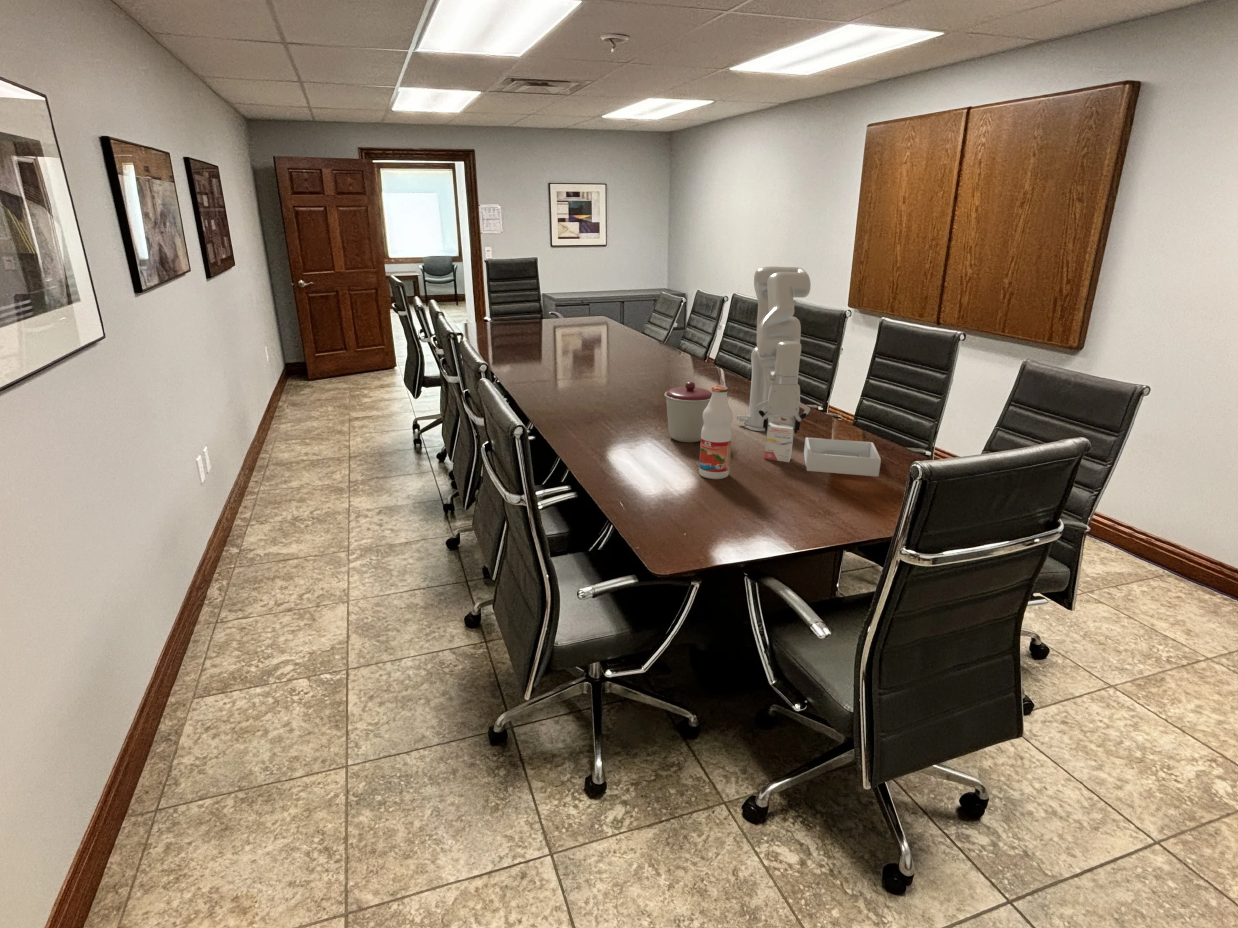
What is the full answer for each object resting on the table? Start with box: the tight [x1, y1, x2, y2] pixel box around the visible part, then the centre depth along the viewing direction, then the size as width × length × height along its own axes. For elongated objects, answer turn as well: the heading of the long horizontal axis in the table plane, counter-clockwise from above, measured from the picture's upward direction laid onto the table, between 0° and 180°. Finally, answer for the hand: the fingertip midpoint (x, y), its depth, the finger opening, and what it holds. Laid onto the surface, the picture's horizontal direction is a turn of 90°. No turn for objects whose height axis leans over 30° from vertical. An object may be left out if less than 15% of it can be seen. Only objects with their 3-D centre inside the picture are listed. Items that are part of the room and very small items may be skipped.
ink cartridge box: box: [763, 415, 796, 463], centre depth 230 cm, size 9×5×15 cm, turn 71°
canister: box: [664, 381, 712, 443], centre depth 249 cm, size 18×18×21 cm
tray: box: [803, 436, 882, 477], centre depth 227 cm, size 22×18×6 cm
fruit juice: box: [698, 385, 734, 480], centre depth 212 cm, size 9×9×28 cm
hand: (780, 431), depth 229 cm, fingers open, 9 cm apart
